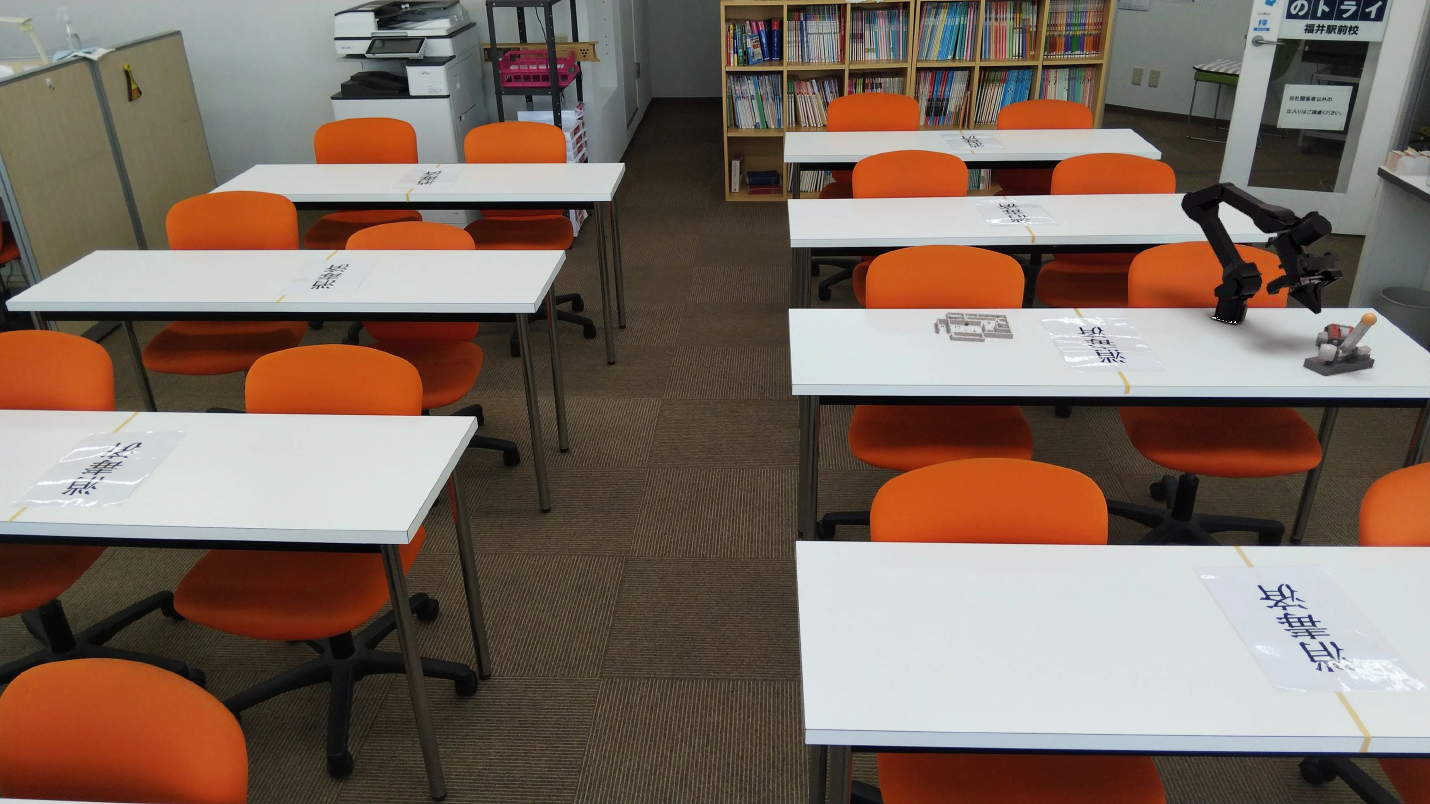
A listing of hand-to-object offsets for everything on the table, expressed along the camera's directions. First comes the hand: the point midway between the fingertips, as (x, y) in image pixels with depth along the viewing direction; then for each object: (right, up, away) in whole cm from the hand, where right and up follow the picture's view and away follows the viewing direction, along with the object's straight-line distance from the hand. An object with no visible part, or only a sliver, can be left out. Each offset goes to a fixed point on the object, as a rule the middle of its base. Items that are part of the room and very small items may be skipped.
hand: (1318, 313), depth 228 cm
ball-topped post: (+3, -10, -4) cm, 11 cm away
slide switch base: (+3, -13, -3) cm, 14 cm away
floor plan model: (-78, -4, +17) cm, 80 cm away
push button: (-2, -12, -5) cm, 13 cm away
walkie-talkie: (+10, -8, +10) cm, 16 cm away
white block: (+8, -8, -3) cm, 12 cm away
